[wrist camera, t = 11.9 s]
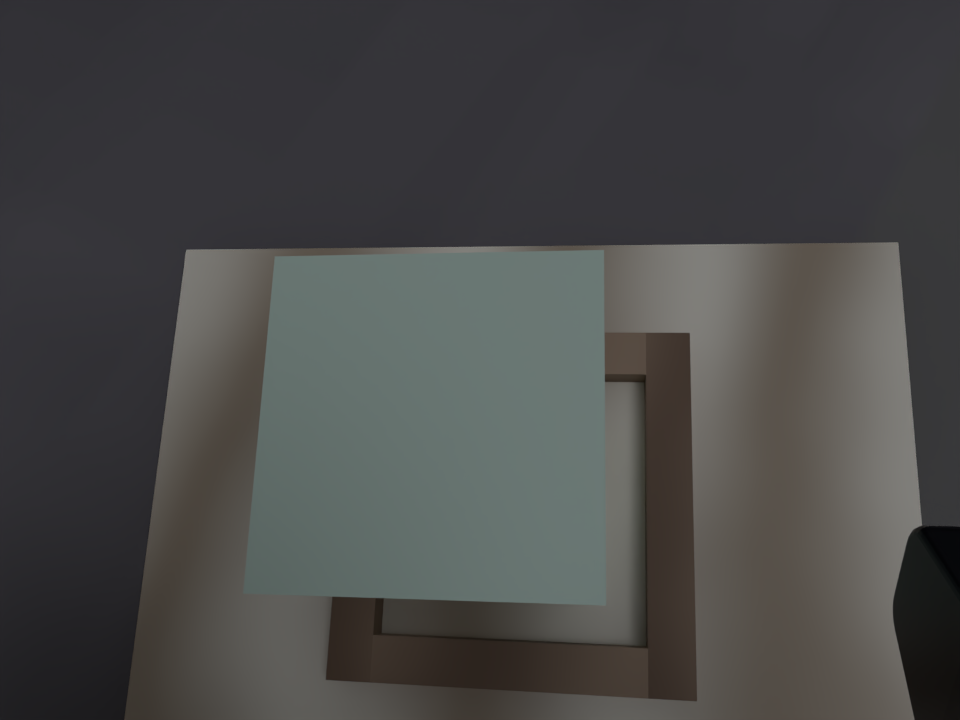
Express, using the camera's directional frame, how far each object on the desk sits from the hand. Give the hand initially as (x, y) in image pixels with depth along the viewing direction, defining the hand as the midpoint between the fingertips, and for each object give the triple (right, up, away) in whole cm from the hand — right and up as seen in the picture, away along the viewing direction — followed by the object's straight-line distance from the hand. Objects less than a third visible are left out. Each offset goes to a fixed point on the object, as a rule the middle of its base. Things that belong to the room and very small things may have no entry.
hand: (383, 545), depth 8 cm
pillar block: (+2, -2, +13) cm, 13 cm away
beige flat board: (+2, -2, +13) cm, 14 cm away
